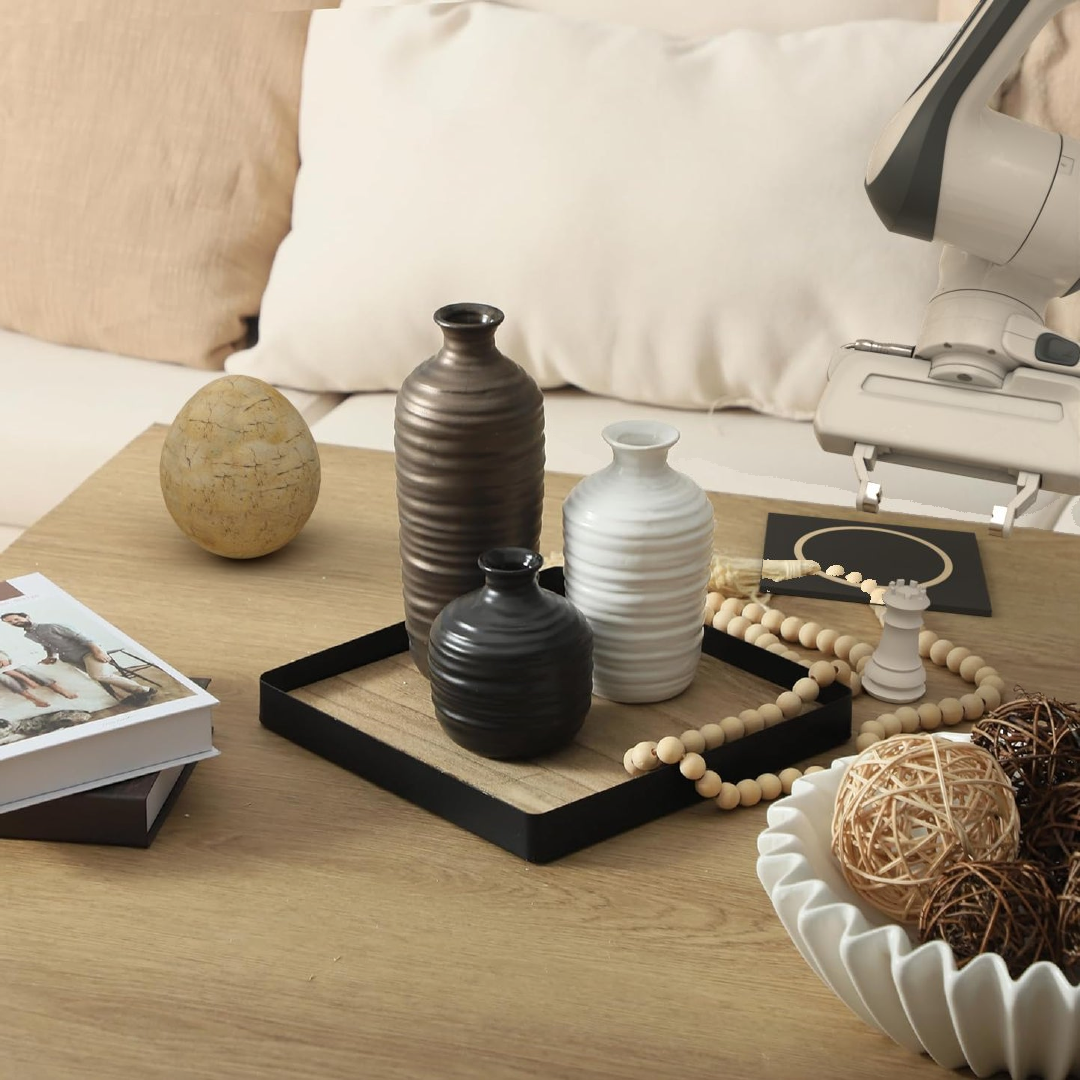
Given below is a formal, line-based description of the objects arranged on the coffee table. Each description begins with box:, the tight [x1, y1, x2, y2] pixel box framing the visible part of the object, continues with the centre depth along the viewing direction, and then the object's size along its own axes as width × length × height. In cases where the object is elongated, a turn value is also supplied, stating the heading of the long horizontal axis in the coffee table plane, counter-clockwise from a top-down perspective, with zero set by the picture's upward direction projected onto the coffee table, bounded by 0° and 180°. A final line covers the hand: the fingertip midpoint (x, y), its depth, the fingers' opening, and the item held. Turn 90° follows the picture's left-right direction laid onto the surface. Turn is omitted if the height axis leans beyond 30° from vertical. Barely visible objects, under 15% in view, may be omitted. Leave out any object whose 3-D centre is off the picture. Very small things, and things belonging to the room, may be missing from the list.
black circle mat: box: [758, 512, 993, 618], centre depth 123 cm, size 18×16×1 cm
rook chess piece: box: [861, 579, 930, 704], centre depth 102 cm, size 4×4×8 cm
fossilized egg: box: [159, 374, 322, 560], centre depth 118 cm, size 13×13×15 cm
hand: (931, 521), depth 105 cm, fingers open, 8 cm apart
